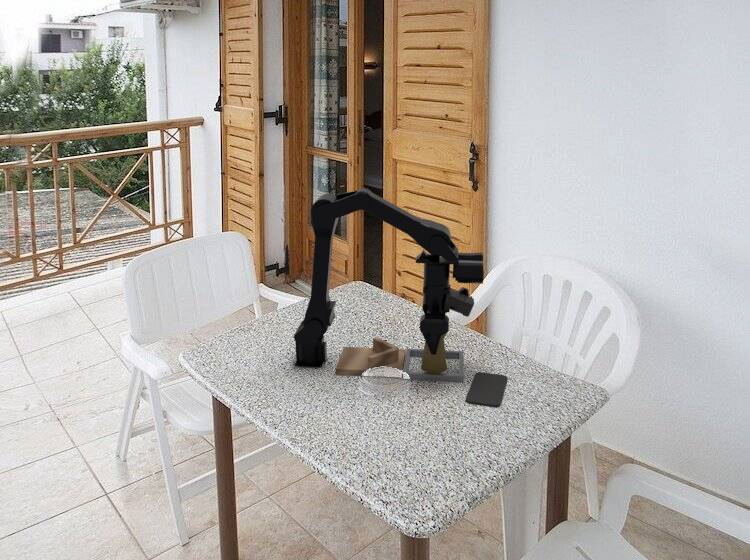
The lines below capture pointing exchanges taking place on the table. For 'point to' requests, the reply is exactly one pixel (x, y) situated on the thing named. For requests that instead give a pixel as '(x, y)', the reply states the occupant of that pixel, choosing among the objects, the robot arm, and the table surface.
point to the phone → (487, 389)
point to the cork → (434, 358)
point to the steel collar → (435, 376)
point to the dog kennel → (370, 358)
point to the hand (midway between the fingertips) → (434, 346)
